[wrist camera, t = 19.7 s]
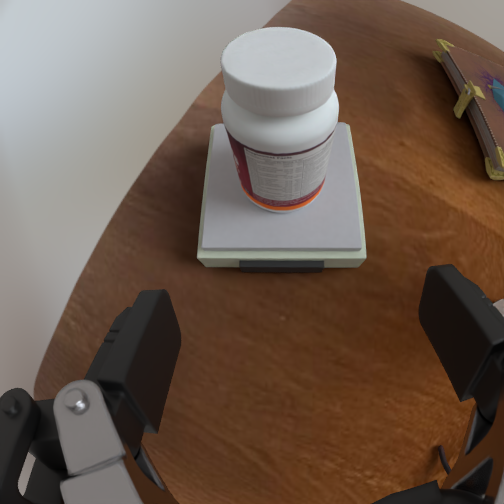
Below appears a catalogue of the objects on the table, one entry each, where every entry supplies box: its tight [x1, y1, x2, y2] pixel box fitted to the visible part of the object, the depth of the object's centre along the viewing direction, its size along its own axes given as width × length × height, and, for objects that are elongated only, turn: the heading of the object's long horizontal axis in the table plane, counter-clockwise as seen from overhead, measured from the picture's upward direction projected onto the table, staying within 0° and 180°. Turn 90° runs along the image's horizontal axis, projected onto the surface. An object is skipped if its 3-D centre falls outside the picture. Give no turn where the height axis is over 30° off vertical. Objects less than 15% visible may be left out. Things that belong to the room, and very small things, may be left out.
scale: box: [197, 122, 366, 272], centre depth 23 cm, size 12×12×3 cm
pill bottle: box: [221, 27, 339, 213], centre depth 16 cm, size 6×6×11 cm
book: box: [433, 39, 504, 180], centre depth 24 cm, size 16×25×5 cm, turn 178°
